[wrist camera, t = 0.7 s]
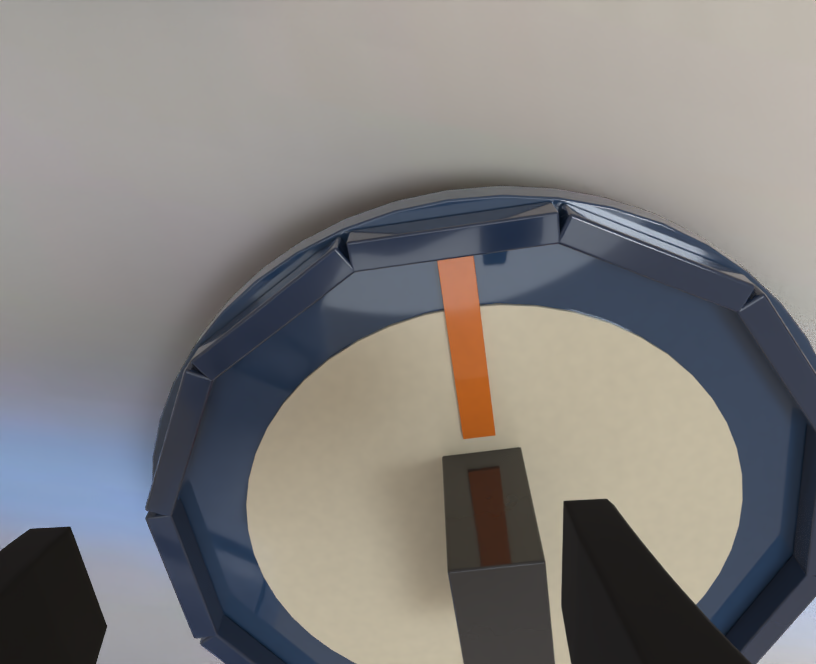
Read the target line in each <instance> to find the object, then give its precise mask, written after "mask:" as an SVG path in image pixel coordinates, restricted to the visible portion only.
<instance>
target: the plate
mask: <svg viewBox="0 0 816 664" xmlns="http://www.w3.org/2000/svg"><path fill="white" fill-rule="evenodd" d="M588 499H608V500H609V501H610V502H611V503H612V504H614V505H615V507H616V508H617V510H618V511H619V512H620V514H621V515H622V516H623V518H624V519H625V520H626V522H627V523H628V524H629V526H630V527H631V528H632V529H633V531H634V532H635V533H636V535H637V536H638V537H639V538H640V540H641V541H642V542H643V543H644V545H645V546H646V547H647V548H648V550H649V551H650V552H651V553H652V554H653V556H654V557H655V558H656V559H657V561H658V562H659V563H660V564H661V565H662V567H663V568H664V569H665V570H666V571H667V573H668V574H669V575H670V576H671V577H672V578H673V580H674V581H675V582H676V583H677V584H678V585H679V586H680V588H681V589H682V590H683V591H684V592H685V593H686V594H687V595H688V597H689V598H690V599H691V600H692V601H693V602H694V603H695V604H696V605H697V607H698V608H699V609H700V610H701V611H702V612H703V613H704V614H705V615H706V617H707V618H708V619H709V620H710V621H711V622H712V623H713V624H714V625H715V626H716V627H717V628H718V629H719V631H720V632H721V633H722V634H723V635H724V636H725V637H726V638H727V639H728V640H729V641H730V642H731V643H732V644H733V645H734V646H735V647H736V648H737V649H738V650H739V651H740V652H741V653H742V654H743V655H744V656H745V657H746V658H747V659H748V660H749V661H750V662H751V663H752V664H757V663H758V662H759V660H760V659H761V658H762V657H763V656H764V655H765V654H766V652H767V651H768V650H769V649H770V648H771V647H772V646H773V645H774V643H775V642H776V641H777V640H778V639H779V638H780V637H781V636H782V634H783V633H784V632H785V631H786V630H787V629H788V628H789V626H790V625H791V624H792V623H793V622H794V621H795V620H796V619H797V617H798V616H799V615H800V614H801V613H802V612H803V611H804V610H805V608H806V607H807V606H808V605H809V604H810V603H811V602H812V600H813V599H814V598H815V597H816V354H815V352H814V350H813V348H812V346H811V344H810V342H809V340H808V338H807V337H806V335H805V334H804V333H803V331H802V330H801V329H800V327H799V326H798V325H797V323H796V322H795V321H794V319H793V318H792V317H791V315H790V314H789V313H788V311H787V310H786V309H785V308H784V306H783V305H782V304H781V303H780V302H779V301H778V300H777V299H776V298H775V297H774V296H773V295H772V294H771V293H770V292H769V291H768V290H767V289H766V288H765V287H764V286H763V285H761V284H760V283H759V282H758V281H757V280H756V279H755V278H754V277H753V276H752V275H751V274H750V273H749V272H748V271H747V270H745V269H744V268H743V267H742V266H741V265H740V264H739V263H738V262H737V261H736V260H734V259H733V258H731V257H730V256H728V255H727V254H725V253H724V252H722V251H721V250H719V249H718V248H717V247H715V246H714V245H712V244H711V243H709V242H708V241H706V240H705V239H703V238H702V237H701V236H699V235H698V234H696V233H694V232H691V231H689V230H687V229H685V228H683V227H681V226H679V225H677V224H675V223H673V222H671V221H669V220H667V219H665V218H663V217H661V216H659V215H657V214H654V213H652V212H649V211H646V210H643V209H639V208H636V207H633V206H630V205H627V204H624V203H621V202H618V201H615V200H611V199H608V198H605V197H600V196H594V195H589V194H583V193H577V192H572V191H566V190H561V189H555V188H538V187H516V186H491V187H479V188H467V189H455V190H445V191H440V192H436V193H431V194H426V195H422V196H417V197H412V198H408V199H403V200H399V201H394V202H391V203H388V204H386V205H383V206H380V207H377V208H374V209H371V210H369V211H366V212H363V213H360V214H357V215H355V216H352V217H349V218H346V219H344V220H342V221H340V222H338V223H336V224H334V225H332V226H330V227H328V228H326V229H324V230H322V231H320V232H319V233H317V234H315V235H313V236H311V237H309V238H307V239H305V240H303V241H301V242H299V243H298V244H297V245H295V246H294V247H292V248H291V249H289V250H288V251H287V252H285V253H284V254H282V255H281V256H279V257H278V258H277V259H275V260H274V261H272V262H271V263H269V264H268V265H266V266H265V267H264V268H262V269H261V270H260V271H259V272H258V273H257V274H256V275H255V276H253V277H252V278H251V279H250V280H249V281H248V282H247V283H246V284H245V285H244V286H243V287H242V288H241V289H240V290H238V291H237V292H236V293H235V294H234V295H233V296H232V297H231V298H230V299H229V300H228V301H227V302H226V304H225V305H224V306H223V307H222V309H221V310H220V311H219V312H218V314H217V315H216V316H215V317H214V319H213V320H212V321H211V322H210V324H209V325H208V326H207V328H206V329H205V330H204V331H203V333H202V334H201V336H200V337H199V339H198V341H197V342H196V344H195V346H194V347H193V349H192V351H191V353H190V354H189V356H188V358H187V360H186V361H185V363H184V365H183V367H182V368H181V370H180V372H179V374H178V376H177V377H176V379H175V381H174V383H173V385H172V388H171V391H170V393H169V396H168V399H167V402H166V404H165V407H164V410H163V412H162V415H161V418H160V421H159V427H158V432H157V437H156V443H155V448H154V453H153V476H152V485H151V489H150V492H149V496H148V499H147V503H146V506H145V508H146V510H147V511H148V513H147V515H146V522H147V524H148V526H149V529H150V531H151V534H152V536H153V539H154V541H155V544H156V546H157V548H158V551H159V553H160V556H161V558H162V561H163V563H164V566H165V568H166V571H167V573H168V575H169V578H170V580H171V583H172V585H173V588H174V590H175V593H176V595H177V598H178V600H179V602H180V605H181V607H182V610H183V612H184V615H185V617H186V620H187V622H188V625H189V627H190V629H191V632H192V634H193V637H194V638H201V641H200V644H201V646H203V647H204V648H205V649H207V650H208V651H209V652H211V653H212V654H213V655H215V656H216V657H217V658H218V659H220V660H221V661H222V662H224V663H225V664H571V660H570V654H569V649H568V643H567V638H566V632H565V626H564V620H563V614H562V608H561V585H562V543H563V501H569V500H588Z"/></svg>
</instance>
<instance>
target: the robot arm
mask: <svg viewBox="0 0 816 664" xmlns="http://www.w3.org/2000/svg"><path fill="white" fill-rule="evenodd" d="M561 608H562V614H563V620H564V626H565V632H566V638H567V643H568V649H569V654H570V660H571V664H752V663H751V662H750V661H749V660H748V659H747V658H746V657H745V656H744V655H743V654H742V653H741V652H740V651H739V650H738V649H737V648H736V647H735V646H734V645H733V644H732V643H731V642H730V641H729V640H728V639H727V638H726V637H725V636H724V635H723V634H722V633H721V632H720V631H719V629H718V628H717V627H716V626H715V625H714V624H713V623H712V622H711V621H710V620H709V619H708V618H707V617H706V615H705V614H704V613H703V612H702V611H701V610H700V609H699V608H698V607H697V605H696V604H695V603H694V602H693V601H692V600H691V599H690V598H689V597H688V595H687V594H686V593H685V592H684V591H683V590H682V589H681V588H680V586H679V585H678V584H677V583H676V582H675V581H674V580H673V578H672V577H671V576H670V575H669V574H668V573H667V571H666V570H665V569H664V568H663V567H662V565H661V564H660V563H659V562H658V561H657V559H656V558H655V557H654V556H653V554H652V553H651V552H650V551H649V550H648V548H647V547H646V546H645V545H644V543H643V542H642V541H641V540H640V538H639V537H638V536H637V535H636V533H635V532H634V531H633V529H632V528H631V527H630V526H629V524H628V523H627V522H626V520H625V519H624V518H623V516H622V515H621V514H620V512H619V511H618V510H617V508H616V507H615V505H614V504H612V503H611V502H610V501H609V500H608V499H588V500H569V501H563V543H562V585H561ZM106 628H107V625H106V622H105V620H104V617H103V614H102V611H101V609H100V606H99V603H98V600H97V598H96V595H95V592H94V590H93V587H92V584H91V581H90V579H89V576H88V573H87V570H86V568H85V565H84V562H83V560H82V557H81V554H80V551H79V549H78V546H77V543H76V540H75V538H74V535H73V532H72V530H71V527H55V528H36V529H29V530H28V531H27V532H25V533H24V534H22V535H21V536H20V537H18V538H17V539H15V540H14V541H13V542H11V543H10V544H9V545H7V546H6V547H5V548H4V549H2V550H1V551H0V664H96V662H97V658H98V655H99V652H100V648H101V645H102V642H103V638H104V635H105V632H106Z"/></svg>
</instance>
